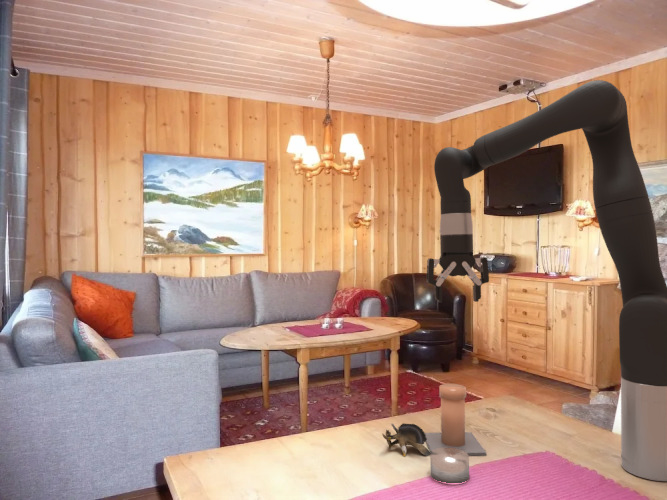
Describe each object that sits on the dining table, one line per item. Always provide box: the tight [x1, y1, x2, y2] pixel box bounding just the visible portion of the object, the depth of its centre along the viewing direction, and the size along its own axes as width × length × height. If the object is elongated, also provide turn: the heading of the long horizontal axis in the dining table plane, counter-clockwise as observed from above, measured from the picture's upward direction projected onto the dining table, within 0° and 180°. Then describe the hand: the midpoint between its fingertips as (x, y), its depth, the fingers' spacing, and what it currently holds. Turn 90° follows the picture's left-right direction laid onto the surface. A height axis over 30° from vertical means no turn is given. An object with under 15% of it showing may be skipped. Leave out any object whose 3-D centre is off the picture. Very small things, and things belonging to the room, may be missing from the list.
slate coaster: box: [424, 431, 487, 457], centre depth 107 cm, size 11×11×1 cm
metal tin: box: [429, 447, 470, 483], centre depth 93 cm, size 7×7×4 cm
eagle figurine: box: [381, 423, 431, 458], centre depth 104 cm, size 8×7×9 cm
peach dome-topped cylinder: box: [438, 383, 467, 447], centre depth 107 cm, size 6×6×12 cm
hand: (457, 301), depth 118 cm, fingers open, 8 cm apart
